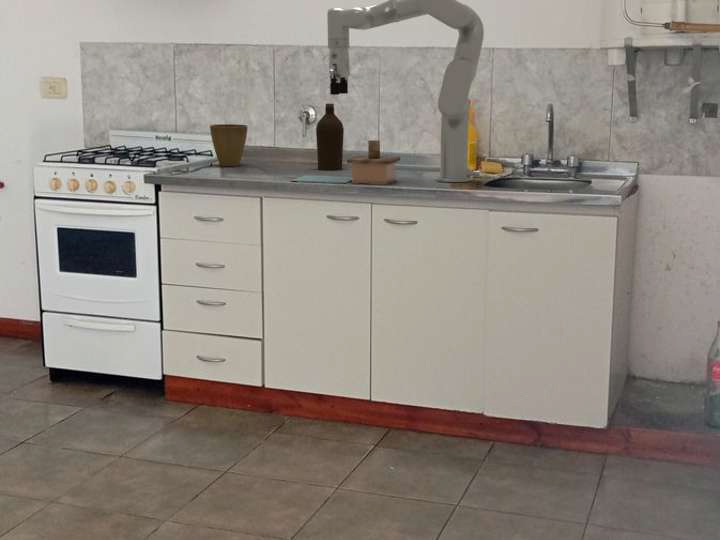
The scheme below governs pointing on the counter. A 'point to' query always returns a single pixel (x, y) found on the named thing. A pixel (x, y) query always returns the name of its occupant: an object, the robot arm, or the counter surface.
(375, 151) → the lid
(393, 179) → the pot
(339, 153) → the olive oil
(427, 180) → the counter surface
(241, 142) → the plant pot
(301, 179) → the mat
